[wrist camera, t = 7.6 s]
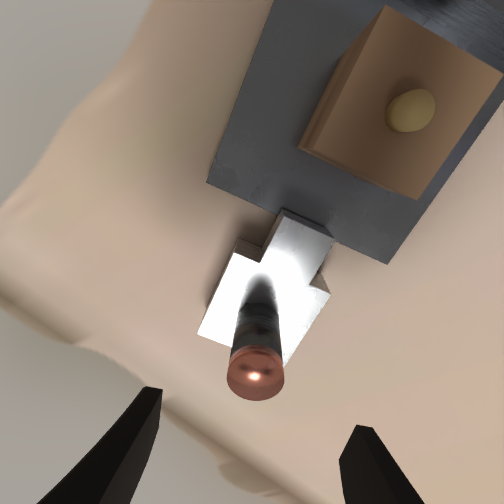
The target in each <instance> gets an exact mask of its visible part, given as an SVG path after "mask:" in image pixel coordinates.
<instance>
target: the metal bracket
mask: <svg viewBox="0 0 504 504" xmlns="http://www.w3.org/2000/svg"><path fill="white" fill-rule="evenodd" d="M385 4H386V5H387V6H389V7H391V8H393V9H394V10H396V11H398V12H399V13H401V14H403V15H404V16H406V17H408V18H410V19H411V20H413V21H415V22H416V23H418V24H420V25H421V26H423V27H425V28H426V29H428V30H430V31H432V32H433V33H435V34H437V35H438V36H440V37H442V38H443V39H445V40H447V41H449V42H450V43H452V44H454V45H455V46H457V47H459V48H460V49H462V50H464V51H466V52H467V53H469V54H471V55H472V56H474V57H476V58H477V59H479V60H481V61H483V62H484V63H486V64H488V65H489V66H491V67H493V68H494V69H496V70H498V71H500V72H501V73H503V74H504V0H274V2H273V5H272V7H271V10H270V13H269V15H268V18H267V21H266V23H265V26H264V29H263V31H262V34H261V37H260V39H259V42H258V45H257V47H256V50H255V53H254V55H253V58H252V61H251V63H250V66H249V69H248V71H247V74H246V77H245V80H244V82H243V85H242V88H241V90H240V93H239V96H238V98H237V101H236V104H235V106H234V109H233V112H232V114H231V117H230V120H229V122H228V125H227V128H226V130H225V133H224V136H223V138H222V141H221V144H220V146H219V149H218V152H217V154H216V157H215V160H214V162H213V165H212V168H211V170H210V173H209V176H208V178H207V181H206V183H209V184H211V185H213V186H215V187H217V188H220V189H222V190H224V191H226V192H228V193H231V194H233V195H235V196H237V197H239V198H242V199H244V200H246V201H248V202H250V203H253V204H255V205H257V206H259V207H261V208H264V209H266V210H268V211H270V212H272V213H275V214H277V215H279V213H280V211H281V209H284V210H286V211H289V212H291V213H293V214H295V215H297V216H300V217H302V218H304V219H306V220H308V221H310V222H313V223H315V224H317V225H319V226H321V227H324V228H326V229H328V230H329V231H330V233H331V234H332V235H333V237H334V238H335V239H336V240H335V241H336V242H338V243H340V244H343V245H345V246H347V247H349V248H351V249H354V250H356V251H358V252H360V253H362V254H365V255H367V256H369V257H371V258H373V259H376V260H378V261H380V262H382V263H384V264H387V265H388V263H389V262H390V260H391V259H392V257H393V256H394V255H395V253H396V252H397V250H398V249H399V248H400V246H401V245H402V243H403V242H404V240H405V239H406V238H407V236H408V235H409V233H410V232H411V231H412V229H413V228H414V226H415V225H416V223H417V222H418V221H419V219H420V218H421V216H422V215H423V214H424V212H425V211H426V209H427V208H428V206H429V205H430V204H431V202H432V201H433V199H434V198H435V197H436V195H437V194H438V192H439V191H440V189H441V188H442V187H443V185H444V184H445V182H446V181H447V180H448V178H449V177H450V175H451V174H452V172H453V171H454V170H455V168H456V167H457V165H458V164H459V163H460V161H461V160H462V158H463V157H464V155H465V154H466V153H467V151H468V150H469V148H470V147H471V146H472V144H473V143H474V141H475V140H476V138H477V137H478V136H479V134H480V133H481V131H482V130H483V129H484V127H485V126H486V124H487V123H488V121H489V120H490V119H491V117H492V116H493V114H494V113H495V112H496V110H497V109H498V107H499V106H500V104H501V103H502V102H503V100H504V75H503V77H502V78H501V80H500V81H499V82H498V84H497V85H496V87H495V88H494V90H493V91H492V93H491V94H490V96H489V97H488V98H487V100H486V101H485V103H484V104H483V106H482V107H481V109H480V110H479V112H478V113H477V114H476V116H475V117H474V119H473V120H472V122H471V123H470V125H469V126H468V128H467V129H466V130H465V132H464V133H463V135H462V136H461V138H460V139H459V141H458V142H457V144H456V145H455V146H454V148H453V149H452V151H451V152H450V154H449V155H448V157H447V158H446V159H445V161H444V162H443V164H442V165H441V167H440V168H439V170H438V171H437V173H436V174H435V175H434V177H433V178H432V180H431V181H430V183H429V184H428V186H427V187H426V189H425V190H424V191H423V193H422V194H421V196H420V197H419V199H418V200H414V199H412V198H409V197H406V196H403V195H401V194H398V193H395V192H392V191H390V190H387V189H384V188H381V187H379V186H376V185H373V184H370V183H368V182H366V181H364V180H362V179H360V178H358V177H356V176H354V175H352V174H350V173H348V172H346V171H344V170H342V169H340V168H338V167H336V166H334V165H332V164H330V163H328V162H326V161H324V160H322V159H320V158H318V157H316V156H314V155H312V154H310V153H308V152H306V151H304V150H302V149H299V148H297V147H298V145H299V143H300V141H301V139H302V137H303V134H304V132H305V130H306V128H307V126H308V124H309V122H310V120H311V118H312V116H313V114H314V112H315V110H316V107H317V105H318V103H319V101H320V99H321V97H322V95H323V93H324V91H325V89H326V87H327V85H328V83H329V80H330V78H331V76H332V74H333V72H334V70H335V68H336V66H337V64H338V62H339V60H340V58H341V56H342V54H343V53H344V52H345V51H346V49H347V48H348V47H349V46H350V45H351V44H352V43H353V41H354V40H355V39H356V38H357V37H358V36H359V34H360V33H361V32H362V31H363V30H364V29H365V27H366V26H367V25H368V24H369V23H370V22H371V20H372V19H373V18H374V17H375V16H376V15H377V14H378V12H379V11H380V10H381V9H382V8H383V7H384V5H385Z"/></svg>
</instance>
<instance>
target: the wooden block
mask: <svg viewBox="0 0 504 504" xmlns="http://www.w3.org/2000/svg"><path fill="white" fill-rule="evenodd" d="M503 75H504V74H503V73H501V72H500V71H498V70H496V69H494V68H493V67H491V66H489V65H488V64H486V63H484V62H483V61H481V60H479V59H477V58H476V57H474V56H472V55H471V54H469V53H467V52H466V51H464V50H462V49H460V48H459V47H457V46H455V45H454V44H452V43H450V42H449V41H447V40H445V39H443V38H442V37H440V36H438V35H437V34H435V33H433V32H432V31H430V30H428V29H426V28H425V27H423V26H421V25H420V24H418V23H416V22H415V21H413V20H411V19H410V18H408V17H406V16H404V15H403V14H401V13H399V12H398V11H396V10H394V9H393V8H391V7H389V6H387V5H386V4H385V5H384V7H383V8H382V9H381V10H380V11H379V12H378V14H377V15H376V16H375V17H374V18H373V19H372V20H371V22H370V23H369V24H368V25H367V26H366V27H365V29H364V30H363V31H362V32H361V33H360V34H359V36H358V37H357V38H356V39H355V40H354V41H353V43H352V44H351V45H350V46H349V47H348V48H347V49H346V51H345V52H344V53H343V54H342V56H341V58H340V60H339V62H338V64H337V66H336V68H335V70H334V72H333V74H332V76H331V78H330V80H329V83H328V85H327V87H326V89H325V91H324V93H323V95H322V97H321V99H320V101H319V103H318V105H317V107H316V110H315V112H314V114H313V116H312V118H311V120H310V122H309V124H308V126H307V128H306V130H305V132H304V134H303V137H302V139H301V141H300V143H299V145H298V147H297V148H299V149H302V150H304V151H306V152H308V153H310V154H312V155H314V156H316V157H318V158H320V159H322V160H324V161H326V162H328V163H330V164H332V165H334V166H336V167H338V168H340V169H342V170H344V171H346V172H348V173H350V174H352V175H354V176H356V177H358V178H360V179H362V180H364V181H366V182H368V183H370V184H373V185H376V186H379V187H381V188H384V189H387V190H390V191H392V192H395V193H398V194H401V195H403V196H406V197H409V198H412V199H414V200H418V199H419V197H420V196H421V194H422V193H423V191H424V190H425V189H426V187H427V186H428V184H429V183H430V181H431V180H432V178H433V177H434V175H435V174H436V173H437V171H438V170H439V168H440V167H441V165H442V164H443V162H444V161H445V159H446V158H447V157H448V155H449V154H450V152H451V151H452V149H453V148H454V146H455V145H456V144H457V142H458V141H459V139H460V138H461V136H462V135H463V133H464V132H465V130H466V129H467V128H468V126H469V125H470V123H471V122H472V120H473V119H474V117H475V116H476V114H477V113H478V112H479V110H480V109H481V107H482V106H483V104H484V103H485V101H486V100H487V98H488V97H489V96H490V94H491V93H492V91H493V90H494V88H495V87H496V85H497V84H498V82H499V81H500V80H501V78H502V77H503Z"/></svg>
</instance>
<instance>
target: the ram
mask: <svg viewBox="0 0 504 504" xmlns="http://www.w3.org/2000/svg"><path fill="white" fill-rule="evenodd" d="M335 240H336V239H335V238H334V237H333V235H332V234H331V233H330V231H329V230H328V229H326V228H324V227H321V226H319V225H317V224H315V223H313V222H310V221H308V220H306V219H304V218H302V217H300V216H297V215H295V214H293V213H291V212H289V211H286V210H284V209H281V211H280V213H279V215H278V217H277V219H276V221H275V223H274V225H273V227H272V229H271V231H270V233H269V235H268V237H267V239H266V241H265V243H264V245H263V247H262V248H260V247H257V246H255V245H253V244H251V243H248V242H246V241H244V240H241V239H239V238H238V240H237V242H236V244H235V247H234V249H233V251H232V253H231V255H230V258H229V260H228V262H227V264H226V267H225V269H224V271H223V273H222V275H221V278H220V280H219V282H218V284H217V286H216V289H215V291H214V293H213V295H212V297H211V300H210V302H209V304H208V306H207V308H206V311H205V313H204V316H203V319H202V322H201V325H200V327H199V330H198V333H197V334H199V335H201V336H204V337H207V338H209V339H212V340H214V341H217V342H220V343H222V344H225V345H227V346H230V347H232V348H231V354H230V361H229V367H228V373H227V382H228V385H229V387H230V389H231V390H232V391H233V392H234V393H235V394H236V395H238V396H239V397H241V398H244V399H247V400H252V401H261V400H266V399H269V398H272V397H274V396H275V395H277V394H278V393H279V392H280V391H281V389H282V387H283V385H284V370H283V367H284V366H285V364H286V363H287V361H288V360H289V358H290V357H291V355H292V354H293V352H294V350H295V349H296V347H297V346H298V344H299V343H300V341H301V340H302V338H303V337H304V335H305V333H306V332H307V330H308V329H309V327H310V326H311V324H312V323H313V321H314V320H315V318H316V316H317V315H318V313H319V312H320V310H321V309H322V307H323V306H324V304H325V303H326V301H327V299H328V298H329V296H330V295H331V293H330V291H329V289H328V287H327V284H326V282H325V280H324V278H323V275H322V274H319V273H317V270H318V269H319V267H320V265H321V264H322V262H323V260H324V259H325V257H326V255H327V254H328V252H329V250H330V249H331V247H332V245H333V244H334V242H335Z"/></svg>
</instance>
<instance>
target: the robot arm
mask: <svg viewBox="0 0 504 504" xmlns="http://www.w3.org/2000/svg"><path fill="white" fill-rule="evenodd" d="M162 392H163V389H158V388H153V387H147V386H146V387H144V388H142V390H141V391H140V393H139V394H138V395H137V397H136V398H135V399H134V400H133V402H132V403H131V404H130V405H129V407H128V408H127V409H126V411H125V412H124V413H123V414H122V415H121V416H120V418H119V419H118V420H117V421H116V422H115V424H114V425H113V426H112V427H111V428H110V429H109V430H108V431H107V432H106V434H105V435H104V436H103V437H102V438H101V439H100V440H99V442H98V443H97V444H96V445H95V446H94V447H93V448H92V449H91V450H90V451H89V452H88V453H87V454H86V455H85V456H84V458H82V459H81V460H80V462H79V463H78V464H77V465H76V466H75V467H74V468H73V469H72V470H71V471H70V472H69V473H68V474H67V475H66V476H65V477H64V478H63V479H62V480H61V481H60V482H59V483H58V484H57V485H56V486H55V487H54V488H53V489H52V490H51V491H50V492H49V493H48V494H46V495H45V496H44V497H43V498H42V499H41V500H40V501H39V502H38V503H37V504H130V501H131V499H132V497H133V495H134V492H135V490H136V488H137V485H138V483H139V481H140V478H141V476H142V474H143V471H144V469H145V466H146V464H147V462H148V459H149V456H150V452H151V450H152V446H153V444H154V440H155V438H156V434H157V431H158V428H159V420H160V411H161V402H162ZM339 466H340V473H341V481H342V487H343V494H344V499H345V503H346V504H425V503H424V502H423V500H422V499H421V498H420V496H419V495H418V493H417V492H416V491H415V489H414V488H413V486H412V485H411V483H410V482H409V481H408V479H407V478H406V476H405V475H404V473H403V472H402V470H401V469H400V467H399V466H398V464H397V463H396V462H395V460H394V459H393V457H392V456H391V454H390V453H389V451H388V450H387V448H386V447H385V445H384V444H383V442H382V441H381V439H380V438H379V436H378V435H377V433H376V432H375V431H374V429H373V428H372V427H367V426H361V425H356V426H355V428H354V430H353V432H352V434H351V436H350V438H349V440H348V442H347V444H346V446H345V448H344V450H343V452H342V454H341V456H340V458H339Z"/></svg>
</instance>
